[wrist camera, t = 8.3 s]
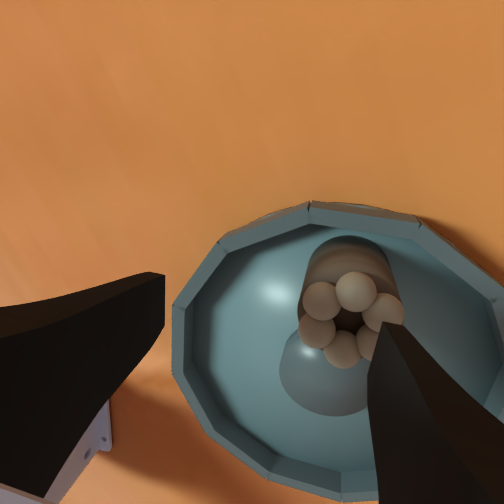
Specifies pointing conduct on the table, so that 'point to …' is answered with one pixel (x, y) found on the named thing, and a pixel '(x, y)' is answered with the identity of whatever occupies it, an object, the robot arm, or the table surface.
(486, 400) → the round groove tray
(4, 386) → the robot arm
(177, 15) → the table surface
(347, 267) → the brown ball-rimmed cylinder
